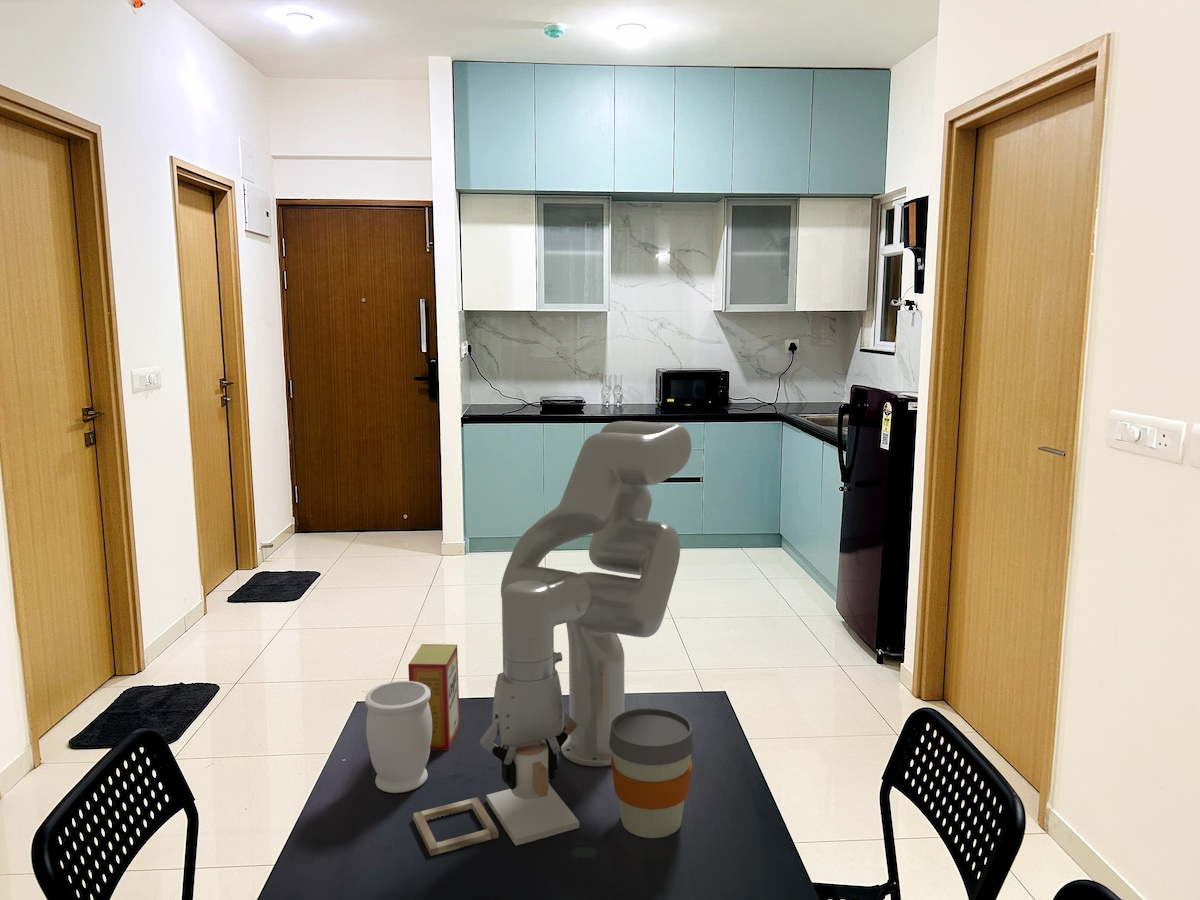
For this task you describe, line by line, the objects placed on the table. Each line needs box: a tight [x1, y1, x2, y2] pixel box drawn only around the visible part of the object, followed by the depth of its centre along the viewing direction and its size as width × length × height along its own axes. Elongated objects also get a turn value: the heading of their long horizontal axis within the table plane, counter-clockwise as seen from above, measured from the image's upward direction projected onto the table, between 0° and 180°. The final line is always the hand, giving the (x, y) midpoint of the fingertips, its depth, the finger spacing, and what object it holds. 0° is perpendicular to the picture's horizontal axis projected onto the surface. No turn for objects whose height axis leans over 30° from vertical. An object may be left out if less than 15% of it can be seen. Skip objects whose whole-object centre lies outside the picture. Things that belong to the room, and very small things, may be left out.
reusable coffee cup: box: [609, 707, 695, 839], centre depth 128 cm, size 13×12×15 cm
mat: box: [486, 783, 580, 846], centre depth 131 cm, size 10×13×1 cm
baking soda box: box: [407, 643, 461, 751], centre depth 154 cm, size 10×6×16 cm
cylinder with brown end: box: [511, 740, 550, 799], centre depth 129 cm, size 8×6×7 cm
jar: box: [364, 680, 432, 794], centre depth 140 cm, size 11×10×15 cm
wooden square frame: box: [412, 797, 499, 857], centre depth 128 cm, size 10×10×1 cm
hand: (529, 779), depth 130 cm, fingers closed on cylinder with brown end, 5 cm apart
